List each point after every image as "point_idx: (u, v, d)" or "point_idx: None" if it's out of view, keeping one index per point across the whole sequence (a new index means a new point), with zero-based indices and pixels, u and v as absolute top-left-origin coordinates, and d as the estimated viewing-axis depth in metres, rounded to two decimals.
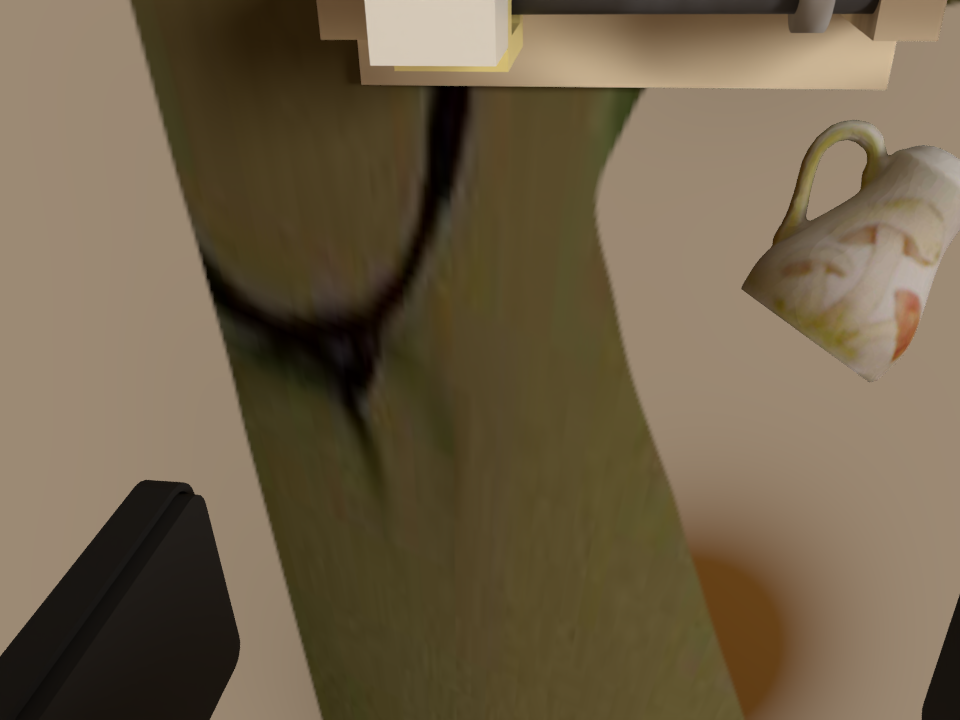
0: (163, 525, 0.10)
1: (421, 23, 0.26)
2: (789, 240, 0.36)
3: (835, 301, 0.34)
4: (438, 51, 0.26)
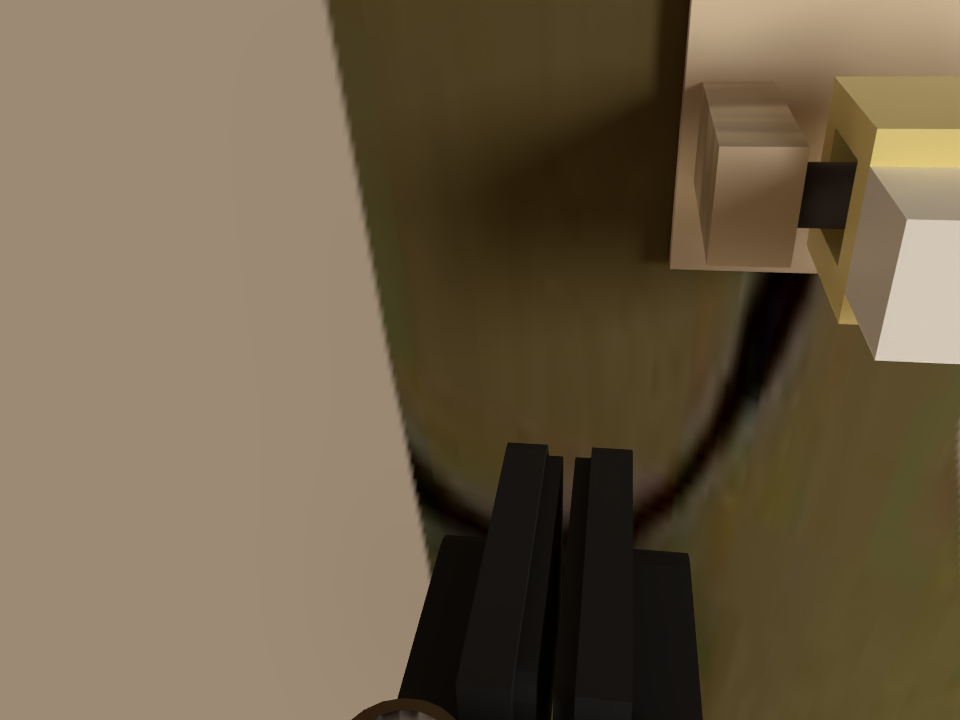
0: (550, 484, 0.10)
1: None
2: None
3: None
4: None
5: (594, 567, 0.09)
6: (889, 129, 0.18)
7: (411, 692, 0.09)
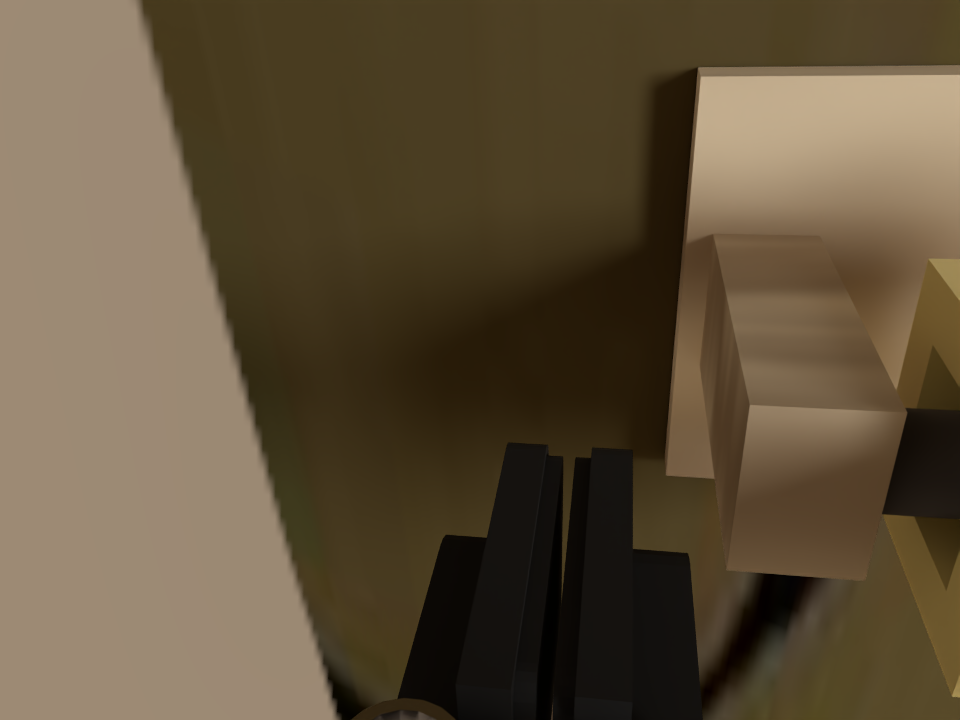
0: (550, 483, 0.10)
1: None
2: None
3: None
4: None
5: (594, 567, 0.09)
6: None
7: (411, 692, 0.09)
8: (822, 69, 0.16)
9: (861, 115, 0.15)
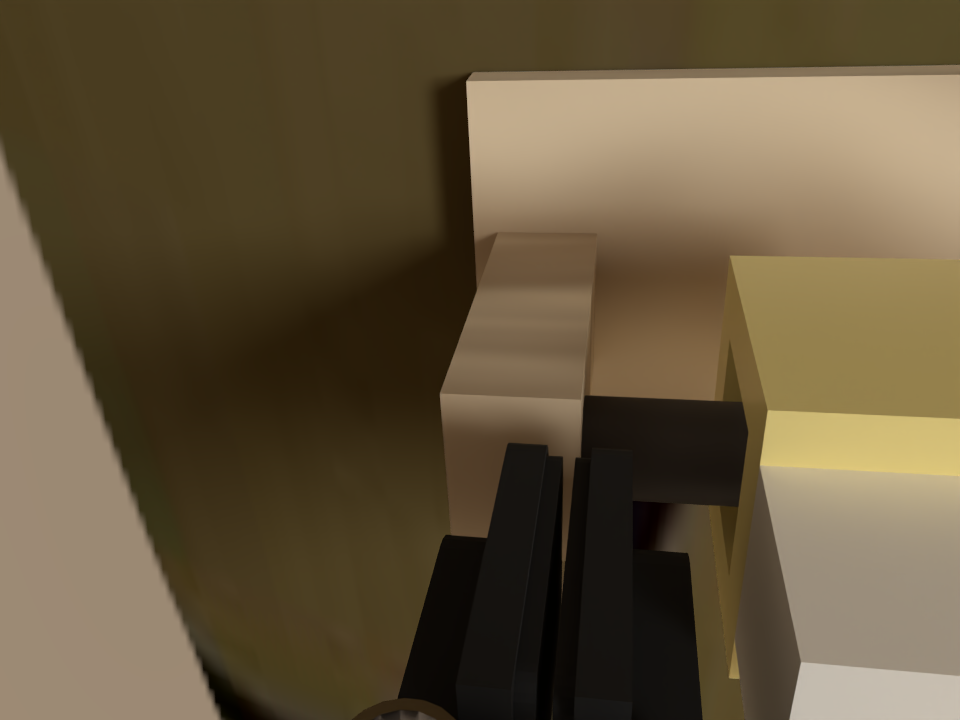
0: (550, 483, 0.10)
1: None
2: None
3: None
4: None
5: (594, 567, 0.09)
6: (789, 413, 0.10)
7: (411, 692, 0.09)
8: (584, 73, 0.16)
9: (619, 117, 0.16)
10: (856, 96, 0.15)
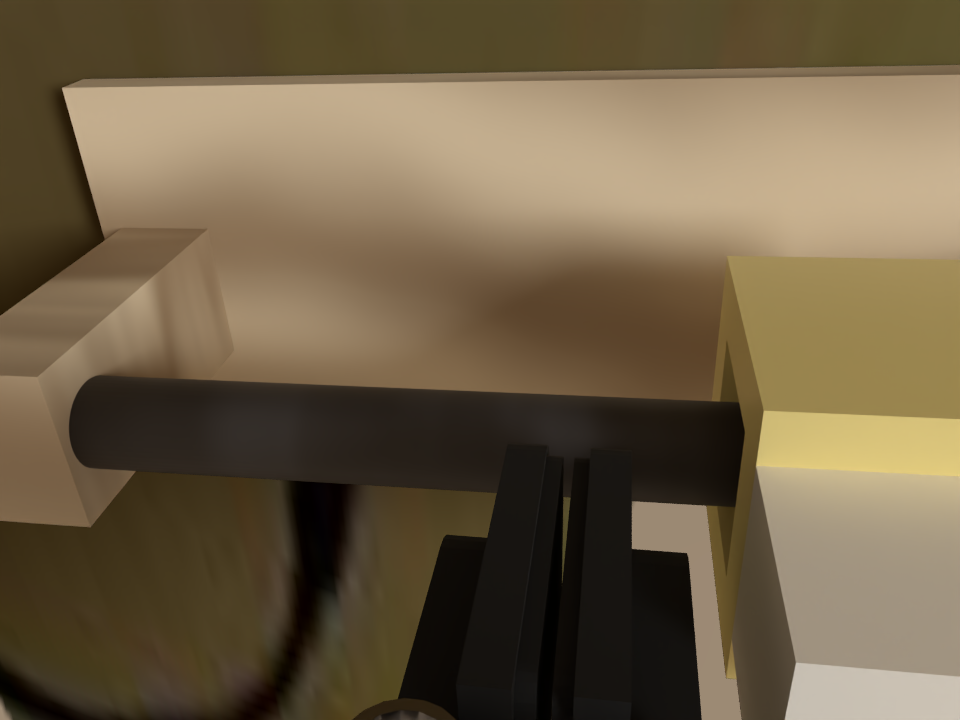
0: (550, 484, 0.10)
1: None
2: None
3: None
4: None
5: (593, 567, 0.09)
6: (786, 413, 0.10)
7: (411, 692, 0.09)
8: (174, 80, 0.17)
9: (201, 121, 0.17)
10: (399, 101, 0.16)
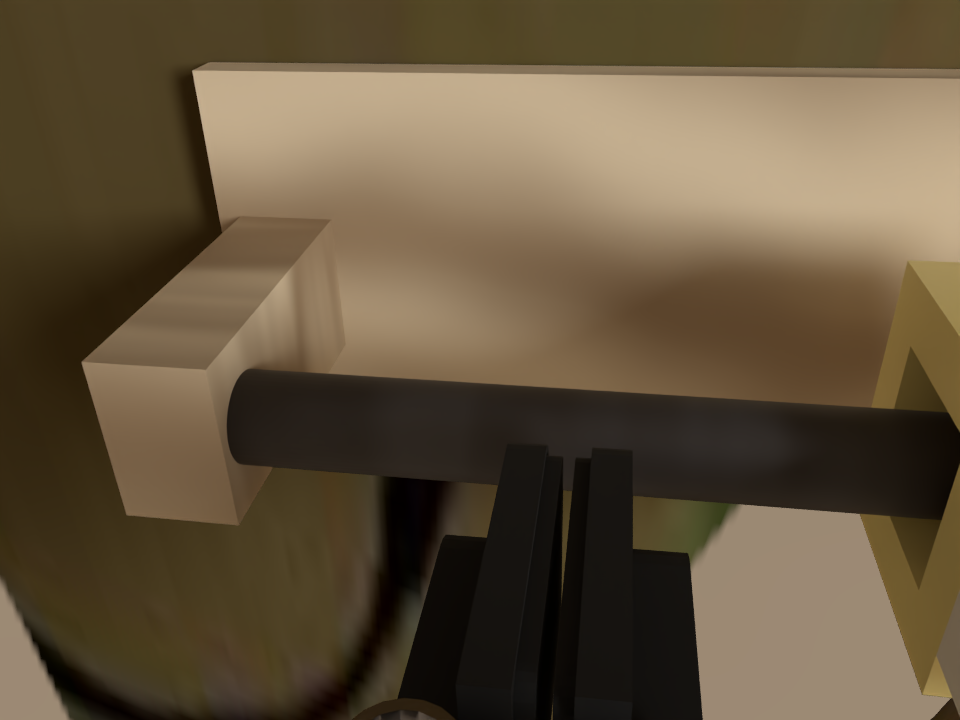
0: (550, 484, 0.10)
1: None
2: None
3: None
4: None
5: (594, 567, 0.09)
6: None
7: (411, 692, 0.09)
8: (307, 66, 0.17)
9: (336, 108, 0.17)
10: (547, 93, 0.16)
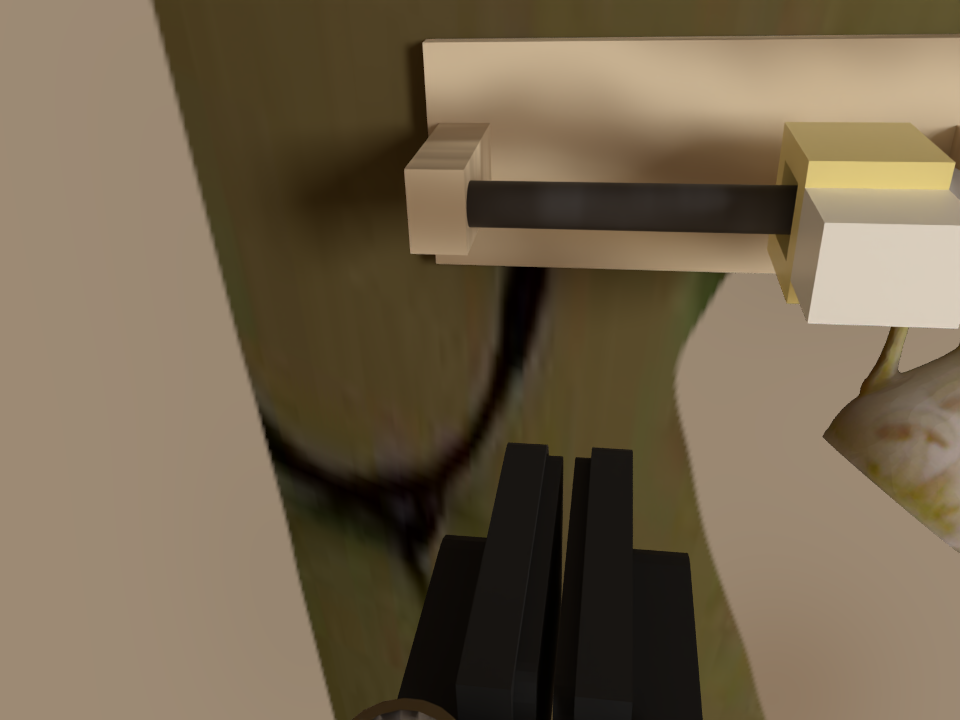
0: (550, 484, 0.10)
1: (880, 285, 0.23)
2: (882, 396, 0.34)
3: (936, 473, 0.32)
4: (893, 311, 0.24)
5: (594, 567, 0.09)
6: (817, 161, 0.25)
7: (411, 692, 0.09)
8: (481, 39, 0.32)
9: (498, 61, 0.32)
10: (609, 50, 0.31)
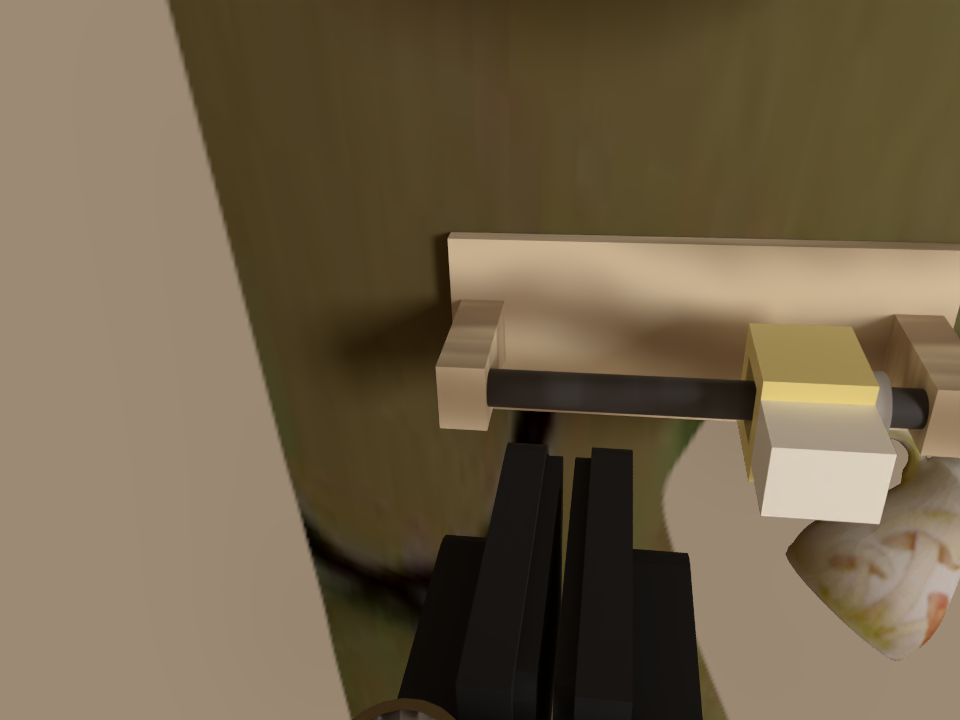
0: (550, 483, 0.10)
1: (817, 491, 0.30)
2: (835, 527, 0.40)
3: (876, 601, 0.38)
4: (828, 510, 0.30)
5: (594, 567, 0.09)
6: (770, 381, 0.31)
7: (411, 692, 0.09)
8: (497, 235, 0.39)
9: (511, 254, 0.38)
10: (604, 249, 0.38)
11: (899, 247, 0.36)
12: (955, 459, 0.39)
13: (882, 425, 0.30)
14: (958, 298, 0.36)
